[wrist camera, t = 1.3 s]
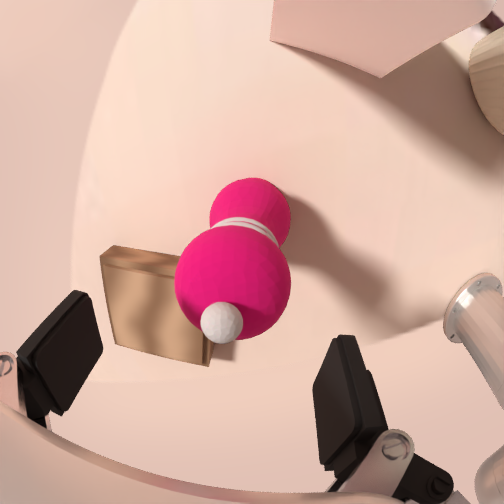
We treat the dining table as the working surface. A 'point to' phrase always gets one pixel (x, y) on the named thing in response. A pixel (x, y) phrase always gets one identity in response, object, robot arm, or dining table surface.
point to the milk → (373, 28)
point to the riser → (149, 306)
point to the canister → (489, 77)
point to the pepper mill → (237, 264)
